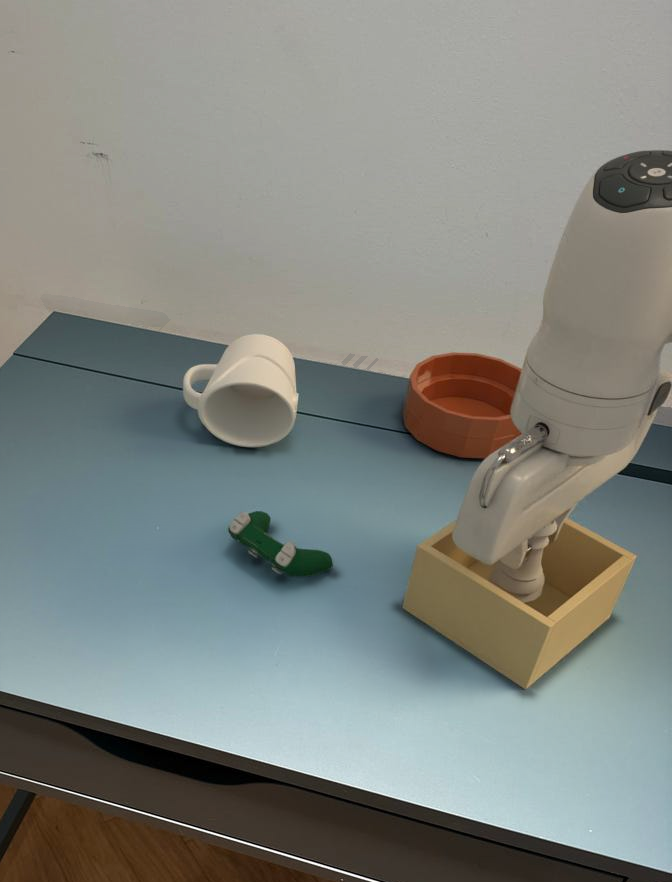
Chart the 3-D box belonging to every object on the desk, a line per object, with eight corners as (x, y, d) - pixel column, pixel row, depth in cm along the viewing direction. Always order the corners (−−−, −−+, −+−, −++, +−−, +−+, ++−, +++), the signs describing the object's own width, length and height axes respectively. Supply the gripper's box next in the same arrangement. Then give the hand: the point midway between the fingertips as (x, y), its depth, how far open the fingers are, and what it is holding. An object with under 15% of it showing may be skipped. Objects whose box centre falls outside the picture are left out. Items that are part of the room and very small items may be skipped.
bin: (488, 546, 92) (507, 484, 87) (609, 618, 85) (637, 555, 80) (402, 608, 86) (417, 545, 81) (525, 689, 79) (550, 627, 74)
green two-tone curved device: (243, 546, 94) (212, 530, 89) (265, 511, 93) (235, 494, 88) (315, 596, 89) (287, 582, 84) (339, 560, 88) (312, 544, 83)
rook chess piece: (528, 568, 86) (553, 493, 80) (549, 603, 82) (578, 528, 77) (478, 573, 85) (501, 498, 79) (498, 609, 82) (524, 533, 76)
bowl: (451, 380, 112) (461, 340, 109) (550, 430, 106) (563, 388, 102) (377, 422, 106) (385, 380, 103) (477, 477, 100) (489, 434, 96)
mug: (298, 405, 108) (306, 338, 102) (290, 454, 101) (298, 385, 96) (189, 393, 109) (191, 326, 104) (175, 441, 103) (176, 372, 97)
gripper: (532, 478, 64) (483, 630, 74) (689, 372, 74) (627, 518, 84) (453, 436, 67) (416, 587, 77) (613, 339, 77) (562, 484, 87)
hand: (527, 550), depth 81 cm, fingers closed on rook chess piece, 3 cm apart
